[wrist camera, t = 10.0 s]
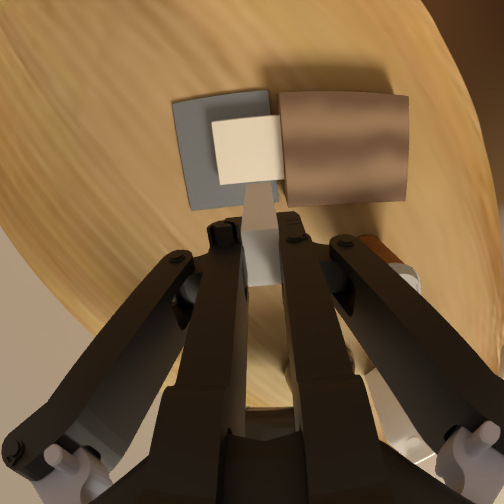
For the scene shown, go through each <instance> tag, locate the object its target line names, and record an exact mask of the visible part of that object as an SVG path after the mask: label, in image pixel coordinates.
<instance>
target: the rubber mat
mask: <svg viewBox="0 0 504 504" xmlns="http://www.w3.org/2000/svg"><path fill="white" fill-rule="evenodd" d="M172 106H173V112H174V119H175V125H176V131H177V137H178V143H179V149H180V154H181V160H182V166H183V171H184V176H185V182H186V187H187V192H188V197H189V202H190V207H191V211H195V210H203V209H212V208H221V207H230V206H240V205H244V197H245V189H246V184H254V183H265V182H271V187H272V193H273V199H274V202H278V189H277V180H268V181H256V182H245V183H235V184H225V185H220V181H219V174H218V167H217V160H216V153H215V145H214V138H213V131H212V123H211V122H213V121H218V120H226V119H235V118H244V117H254V116H266V115H271V112H270V103H269V93H268V90H262V91H251V92H242V93H233V94H226V95H219V96H212V97H206V98H200V99H194V100H189V101H184V102H179V103H174V104H172Z"/></svg>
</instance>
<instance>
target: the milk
mask: <svg viewBox="0 0 504 504" xmlns="http://www.w3.org/2000/svg"><path fill="white" fill-rule="evenodd" d="M365 379H366V381H367V384H368V387H369V390H370V393H371V396H372V399H373V402H374V405H375V408H376V411H377V414H378V417H379V420H380V423H381V426H382V429H383V433H384V436H385V438H386V440H387V442H388V443H389V444H390V445H391V446H393V447H394V448H395V449H396V450H398V451H399V452H400V453H402V454H403V455H404V456H406V458H408V460H410V461H411V462H412V463H414V464H417V463H419V462H420V461H423V460H425V459H427V458H428V457H430V456H432V455H433V454H436V453H435V452H433V450H432V449H431V448H430V447H429V446H428V445H427V444H426V443H425V442H424V440H423V439H422V438H421V436H420V435H419V433H418V432H417V430H416V429H415V427H414V426H413V424H412V423H411V421H410V419H409V418H408V416H407V415H406V413H405V411H404V410H403V408H402V407H401V405H400V404H399V402H398V400H397V399H396V397H395V396H394V394H393V393H392V391H391V390H390V388H389V387H388V385H387V383H386V382H385V380H384V379H383V377H382V376H381V374H380V373H379V371H378V370H377V368H374V369H373V370H372V371H370V372H369V373H368V374H366V375H365Z"/></svg>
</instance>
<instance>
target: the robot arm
mask: <svg viewBox="0 0 504 504" xmlns="http://www.w3.org/2000/svg"><path fill="white" fill-rule="evenodd" d="M207 233H208V238H209V243H210V248H209V252H208V253H207V254H204V255H201V256H198V257H194V258H193V256H192V253H191V252H190V251H188V250H176V251H172V252H171V253H169V254H167V255H166V256H164V257H163V258H162V259H161V260H160V262H159V263H158V264H157V265H156V266H155V267H154V268H153V269H152V271H151V272H150V273H149V274H148V275H147V276H146V277H145V278H144V280H143V281H142V282H141V283H140V284H139V285H138V286H137V288H136V289H135V290H134V291H133V292H132V293H131V295H130V296H129V297H128V298H127V299H126V301H125V302H124V303H123V304H122V305H121V306H120V308H119V309H118V310H117V311H116V312H115V314H114V315H113V316H112V317H111V319H110V320H109V321H108V322H107V323H106V325H105V326H104V327H103V328H102V330H101V331H100V332H99V333H98V335H97V336H96V337H95V338H94V340H93V341H92V342H91V343H90V345H89V346H88V347H87V349H86V350H85V351H84V352H83V354H82V355H81V356H80V358H79V359H78V360H77V362H76V363H75V364H74V366H73V367H72V368H71V370H70V371H69V372H68V374H67V375H66V376H65V378H64V379H63V381H62V382H61V383H60V385H59V386H58V388H57V389H56V390H55V392H54V393H53V394H52V396H51V397H50V399H49V400H48V402H47V403H45V404H44V405H43V406H42V407H41V408H39V409H38V410H37V411H36V412H34V413H33V414H32V415H31V416H30V417H28V418H27V419H26V420H25V421H24V422H22V423H21V424H20V425H19V426H18V427H16V428H15V429H14V430H13V431H12V432H10V433H9V434H8V436H7V437H6V438H5V440H4V442H3V444H2V452H1V453H2V458H3V461H4V463H5V464H6V466H7V467H9V468H10V469H12V470H13V471H15V472H16V473H18V474H20V475H22V476H23V477H25V478H26V479H28V480H29V481H30V482H32V484H33V486H34V488H35V489H36V491H37V493H38V494H39V496H40V498H41V499H42V501H43V503H44V504H493V502H494V500H495V499H496V497H497V496H498V494H499V492H500V491H501V489H502V487H503V485H504V380H503V379H501V378H500V377H498V376H497V375H495V374H494V373H493V372H492V371H491V370H490V368H489V367H488V366H487V365H486V364H485V362H484V361H483V360H482V359H481V358H480V357H479V356H478V354H477V353H476V352H475V351H474V350H473V349H472V348H471V347H470V345H469V344H468V343H467V342H466V341H465V340H464V339H463V338H462V337H461V336H460V335H459V333H458V332H457V331H456V330H455V329H454V328H453V327H452V326H451V325H450V324H449V323H448V322H447V321H446V320H445V319H444V318H443V317H442V316H441V315H440V314H439V313H438V312H437V311H436V310H435V309H434V308H433V307H432V306H431V305H430V304H429V303H428V302H427V301H426V300H425V299H424V298H423V297H422V296H421V295H420V294H419V293H418V292H417V291H416V290H415V289H414V288H413V287H412V286H411V285H410V284H409V283H408V282H407V281H406V280H405V279H403V278H402V277H401V276H400V275H399V274H398V273H397V272H396V271H395V270H394V269H393V268H392V267H390V266H389V265H388V264H387V263H386V262H385V261H384V260H383V259H382V258H380V257H379V256H378V255H377V254H376V253H375V252H374V251H372V250H371V249H370V248H369V247H368V246H367V245H366V244H364V243H363V242H362V241H361V240H360V239H358V238H356V237H354V236H351V235H346V234H343V235H338V236H335V237H333V238H331V239H330V242H329V245H325V244H318V243H314V242H312V239H311V237H310V236H309V234H307V233H305V230H304V227H303V224H302V221H301V218H300V215H299V214H297V213H296V212H294V211H291V212H279V213H276V210H275V204H274V199H273V193H272V187H271V182H265V183H254V184H246V189H245V197H244V206H243V215H242V217H233V218H226V219H225V220H222V221H217V222H215V223H212V224H211V225H209V226H208V227H207ZM247 283H248V285H247ZM277 284H282V297H283V304H284V312H285V321H286V331H287V341H288V351H289V361H288V362H287V364H286V366H285V378H286V382H287V384H288V386H289V388H290V390H291V392H292V394H293V405H294V407H249V406H247V407H245V406H246V370H247V336H248V303H249V292H248V287H252V286H265V285H277ZM173 300H174V301H173ZM172 301H173V302H172ZM334 307H335V308H336V310H337V311H338V313H339V314H340V315H341V317H342V318H343V320H344V321H345V323H346V324H347V326H348V327H349V328H350V330H351V331H352V333H353V334H354V336H355V337H356V339H357V340H358V342H359V343H360V345H361V346H362V347H363V349H364V350H365V352H366V353H367V355H368V356H369V358H370V359H371V361H372V362H373V364H374V365H375V367H376V368H377V370H378V371H379V373H380V374H381V376H382V377H383V379H384V380H385V382H386V383H387V385H388V387H389V388H390V390H391V391H392V393H393V394H394V396H395V397H396V399H397V400H398V402H399V404H400V405H401V407H402V408H403V410H404V411H405V413H406V415H407V416H408V418H409V419H410V421H411V423H412V424H413V426H414V427H415V429H416V430H417V432H418V433H419V435H420V436H421V438H422V439H423V440H424V442H425V443H426V444H427V445H428V446H429V447H430V448H431V449H432V450H433V452H435V453H436V454H437V459H436V466H435V472H436V474H437V475H438V476H439V477H442V478H443V479H444V481H445V484H446V485H445V484H443V483H442V482H440V481H439V480H437V479H436V478H434V477H432V476H431V475H430V474H428V473H427V472H425V471H424V470H422V469H421V468H420V467H418V466H416V465H415V464H414V463H412V462H411V461H410V460H408V459H407V458H405V457H404V456H403V455H401V454H400V453H398V452H397V451H396V450H394V449H393V448H392V447H390V446H389V445H387V444H386V443H384V442H382V441H380V440H379V439H378V435H377V431H376V426H375V422H374V418H373V414H372V410H371V407H370V403H369V399H368V395H367V392H366V388H365V385H364V382H363V379H362V377H361V376H360V375H355V374H354V373H355V362H354V358H353V355H352V353H351V352H350V351H349V350H348V349H347V348H346V345H345V341H344V338H343V335H342V331H341V328H340V324H339V321H338V318H337V315H336V311H335V308H334ZM184 344H185V345H184ZM183 346H184V349H183V353H182V357H181V362H180V366H179V370H178V375H177V379H176V383H175V385H174V386H167V387H166V389H165V390H164V392H163V395H162V398H161V402H160V406H159V411H158V415H157V419H156V424H155V429H154V433H153V438H152V442H151V447H150V452H149V455H148V456H147V457H146V458H145V459H143V460H142V461H141V462H140V463H139V464H138V465H137V466H135V467H134V468H133V469H132V470H130V471H129V472H128V473H127V474H126V475H124V476H123V477H122V478H121V479H119V480H118V481H117V482H116V483H114V484H113V483H112V481H111V480H110V479H109V473H110V472H111V471H112V470H113V468H115V466H116V465H117V464H118V463H119V461H120V460H121V459H122V457H123V456H124V454H125V452H126V451H127V449H128V447H129V446H130V444H131V442H132V440H133V438H134V436H135V434H136V433H137V431H138V429H139V427H140V425H141V423H142V421H143V419H144V418H145V416H146V414H147V412H148V410H149V408H150V406H151V405H152V403H153V401H154V399H155V397H156V395H157V394H158V392H159V390H160V388H161V386H162V384H163V382H164V381H165V379H166V377H167V375H168V373H169V372H170V370H171V368H172V366H173V364H174V362H175V361H176V359H177V357H178V355H179V353H180V351H181V350H182V348H183Z"/></svg>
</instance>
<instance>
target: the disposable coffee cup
mask: <svg viewBox="0 0 504 504" xmlns="http://www.w3.org/2000/svg"><path fill="white" fill-rule="evenodd" d="M358 239H360V240H361V241H362V242H363V243H364V244H366V245H367V246H368V247H369V248H370V249H371V250H372V251H374V252H375V253H376V254H377V255H378V256H379V257H380V258H382V259H383V260H384V261H385V262H386V263H387V264H388V265H389V266H390V267H392V268H393V269H394V270H395V271H396V272H397V273H398V274H399V275H400V276H401V277H402V278H403V279H405V280H406V281H407V282H408V283H409V284H410V285H411V286H412V287H413V288H414V289H415V290H416V291H417V292H418V293H419V294H420V295H421V286H420V278H419V275H418V273H417V272H416V271H415V270H414V269H413V268H412V267H410V266H408V265H405V264H404V263H403V262H402V261H401V260H400V259H399V258H398V257H397V256H396V255H395V254H394V253H392V251H390V250H389V249H388V248H387V247H386V246H385V245H384V244H383V243H382V242H381V241H379V239H377V238H376V237H374V236H371V235H364V236H360V237H358Z"/></svg>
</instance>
